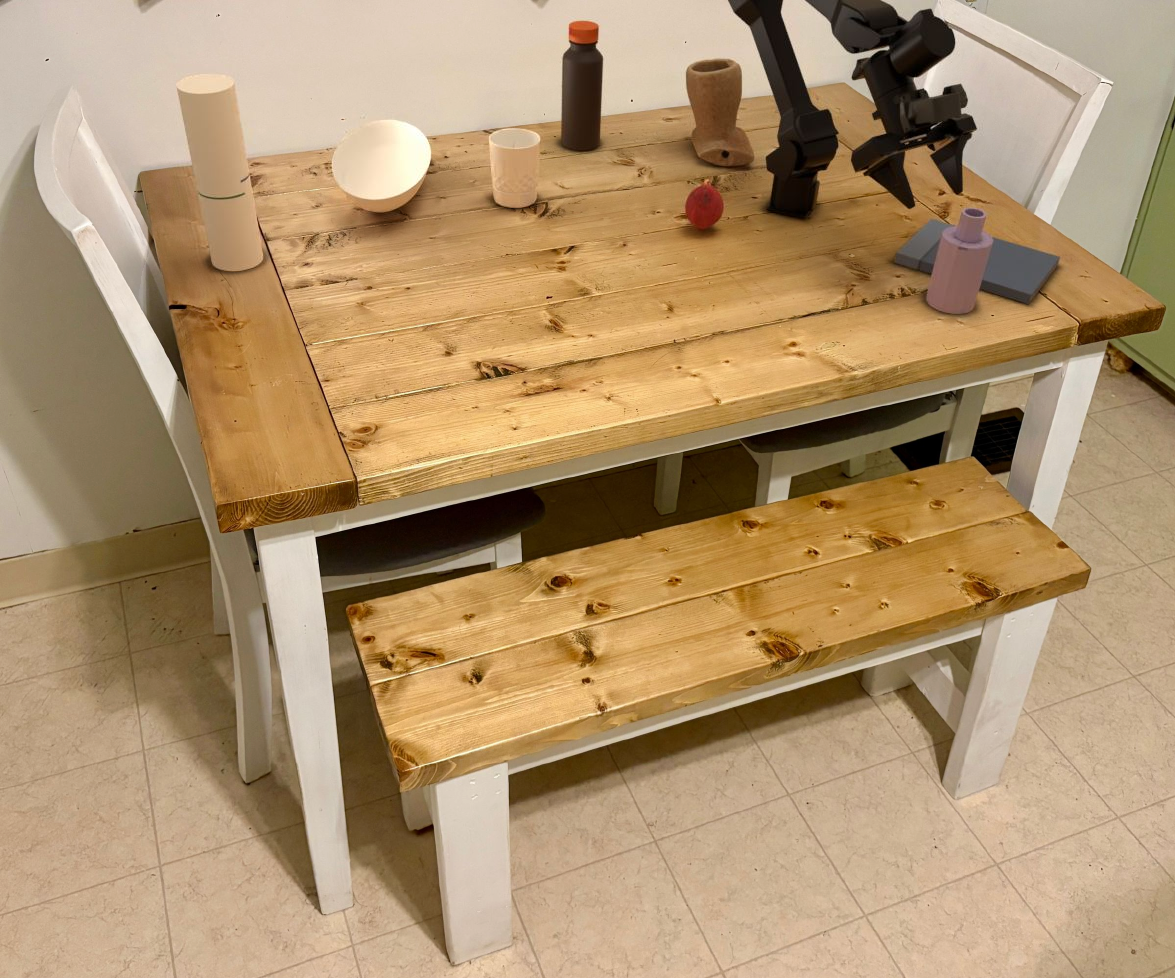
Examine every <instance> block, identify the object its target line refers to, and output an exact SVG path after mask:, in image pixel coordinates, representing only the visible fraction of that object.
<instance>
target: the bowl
mask: <svg viewBox="0 0 1175 978" xmlns="http://www.w3.org/2000/svg"><path fill="white" fill-rule="evenodd" d="M431 159H432V149H431V145H430V142H429V140H428V138H427V137H426V135H425V134H424V133H423V132H422V131H421V129H419V128H417V126H415V125H413V124H410V123H408V122H405V121H403V120H402V121H401V120H396V119H380V120H374V121H371V122H368V123H364V124H363V125H360V126H358V127H356V128H355V129H353V130H352V131H350V132H349V133H348V134H347V135H345V136H344V138H343V139H341V141H340V142H339V143H338V145H337V147H336V148H335V150H334V152H333V156H332V160H331V161H332V162H331V171H332V176H333V178H334V180H335V183H336V184H337V185H338V187H339V189H340V191H341V192H342V193H343V194H344V196H345V197H346V198H347V199H348V200H349V201H350V202H351V203H352V204H354V205H355V206H356V207H358V208H360V209H362V210H365V211H369V212H373V213H388V212H392V211H394V210H397V209H399V208H400V207H402V206H404V205H405V204H407V203H408V202H409V201H410V200H411V199H412V198H413V197H414V196H415V195H417V192H418V191H419V190H420V188H421V186H422V184H423V182H424V180H425V178H426V176H427V173H428V170H429V168H430V165H431Z"/></svg>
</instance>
